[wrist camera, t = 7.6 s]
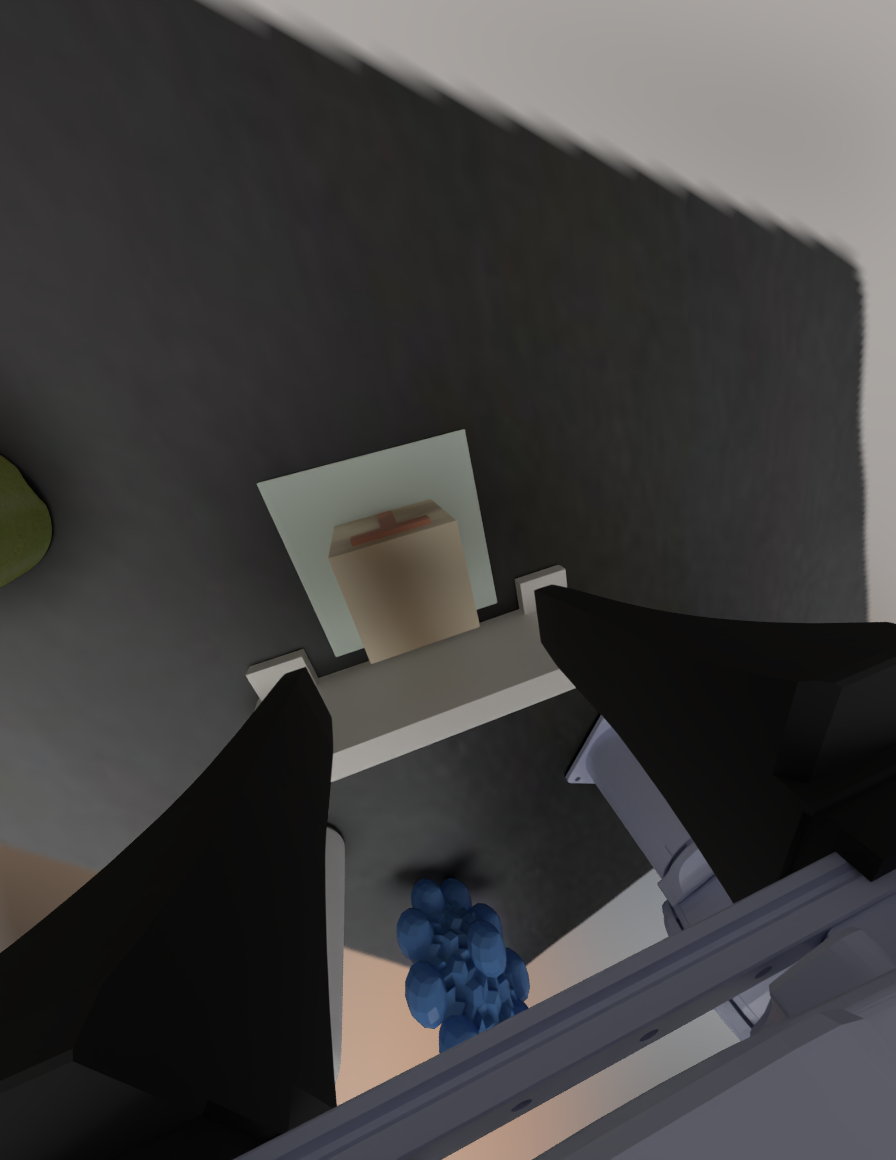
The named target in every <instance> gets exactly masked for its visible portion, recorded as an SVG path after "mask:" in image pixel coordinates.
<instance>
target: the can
mask: <svg viewBox="0 0 896 1160" xmlns="http://www.w3.org/2000/svg"><path fill="white" fill-rule="evenodd" d="M344 880H345V845H344V841H343V839H342V837H341V836H340V835H339V834H338V833H337V831H336V830H334V829H333V828H332V827H330V826H328V825H327V830H326V849H325V882H326V931H327V960H328V981H329V1002H330V1020H331V1034H332V1049H333V1064H334V1078H335V1083H336V1080H337V1076H338V1072H339V1068H340V1061H341V1040H342V996H343V992H342V991H343V942H344Z"/></svg>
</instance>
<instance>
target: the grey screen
mask: <svg viewBox="0 0 896 1160" xmlns="http://www.w3.org/2000/svg"><path fill="white" fill-rule="evenodd" d="M551 584H553V585H558V586H562V587H566V588H567V582H566V570H565V568H563V567H561V566H560V565H556V566H553V567H550V568H547V569H543V570H540V571H537V572H534V573H531V574H528V575H525V576H522V577H519V578H516V579H515V585H516V592H517V598H518V604H519V609H518V610H515V611H512V612H509V613H506V614H504V615H501V616H498V617H495V618H492V619H489V620H486V621H483V622H480V623H479V624H480V627H478V628H475V629H472V630H469V631H466V632H464V633H461V634H458V635H455V636H452V637H449V638H446V639H443V640H440V641H437V642H434V643H432V644H429V645H426V646H423V647H420V648H417V649H414V650H411V651H408V652H405V653H403V654H400V655H397V656H394V657H391V658H388V659H385V660H382V661H379V662H376V663H373V664H371V663H370V661H367V662H364V663H361V664H358V665H355V666H352V667H349V668H346V669H343V670H340V671H337V672H335V673H332V674H329V675H326V676H323V677H320V678H318V676H317V674H316V672H315V670H314V668H313V666H312V664H311V662H310V660H309V658H308V656H307V654H306V652H305V651H304V649H301V650H298V651H295V652H292V653H289V654H286V655H283V656H280V657H277V658H274V659H271V660H268V661H265V662H262V663H259V664H256V665H253V666H249V669H248V671H247V673H246V677H247V679H248V680H249V682H250V684H251V685H252V687H253V688H254V690H255V692H256V693H257V695H258V696H259V699H258V701H257V704H256V707H255V709H254V711H255V710H256V709H257V707H258V706H259V705H260V703H261V702H262V701H263V700H264V698H265V697H266V696H267V694H268V693H269V692H270V691H271V689H272V688H273V687H274V686H275V684H276V683H277V682H278V681H279V680H280V678H281V677H282V676H283V675H284V674H285V673H288V672H291V671H294V670H297V669H300V668H303V667H306V668H307V670H308V672H309V673H310V675H311V677H312V679H313V681H314V683H315V685H316V687H317V689H318V691H319V693H320V695H321V697H322V699H323V701H324V703H325V705H326V707H327V709H328V711H329V713H330V715H331V717H332V728H333V763H332V775H331V782H333V781H336V780H338V779H341V778H344V777H346V776H349V775H351V774H354V773H357V772H359V771H362V770H364V769H367V768H370V767H372V766H375V765H377V764H380V763H383V762H385V761H388V760H390V759H393V758H396V757H398V756H401V755H403V754H406V753H409V752H411V751H414V750H416V749H419V748H421V747H424V746H427V745H429V744H432V743H434V742H437V741H440V740H442V739H445V738H447V737H450V736H453V735H455V734H458V733H460V732H463V731H466V730H468V729H471V728H473V727H476V726H479V725H481V724H484V723H486V722H489V721H491V720H494V719H497V718H499V717H502V716H504V715H507V714H510V713H512V712H515V711H517V710H520V709H523V708H525V707H528V706H530V705H533V704H536V703H538V702H541V701H543V700H546V699H549V698H551V697H554V696H556V695H559V694H561V693H564V692H567V691H569V690H572V689H574V688H576V687H575V686H574V685H573V684H572V683H571V681H570V680H569V679H568V678H567V677H566V676H565V675H564V674H563V673H562V671H561V670H560V669H559V668H558V667H557V665H556V664H555V663H554V661H553V660H552V658H551V657H550V656H549V654H548V653H547V651H546V650H545V648H544V646H543V645H542V643H541V640H540V633H539V625H538V617H537V610H536V602H535V595H534V590H536V589H539V588H542V587H545V586H548V585H551Z"/></svg>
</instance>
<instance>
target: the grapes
mask: <svg viewBox="0 0 896 1160" xmlns="http://www.w3.org/2000/svg"><path fill="white" fill-rule="evenodd" d="M411 903H412V907H413V908H409V909H407V910H406V911H404V912H403V913H402V914H401V916H400V918H399V921H398V923H397V940H398V943H399V946H400V949H401V951H402V953H403V954H404V955H405V956H406V958H408V959H409V960H410V961H411V962H413V963H415V964H413V965H412V966H411V968H410V970H409V973H408V976H407V978H406V981H405V997H406V1000H407V1004H408V1007H409V1009H410V1012H411V1014H412V1016H413V1017H414V1018H415V1019H416V1020H417V1021H418V1022H419V1023H420V1024H421V1025H422V1026H423V1027H424V1028H431V1029H435V1028H436V1027H438V1026H439V1025H440V1024H441V1023H442V1024H441V1027H440V1031H439V1052H440V1053H442V1052H444V1051H446V1050H448V1049H450V1048H452V1047H454V1046H456V1045H458V1044H460V1043H462V1042H464V1041H466V1040H468V1039H470V1038H472V1037H474V1036H476V1035H478V1034H480V1033H482V1032H483V1031H485V1030H487V1029H489V1028H491V1027H493V1026H495V1025H497V1024H499V1023H501V1022H503V1021H505V1020H507V1019H509V1018H511V1017H513V1016H515V1015H517V1014H519V1013H521V1012H523V1011H525V1010H527V1009H528V1007H527V1005H526V1004H525V1003H524V1001H525V1000H526V999H527V998H528V993H529V988H530V985H529V976H528V972H527V970H526V966H525V964H524V962H523V960H522V959H521V958H520V956H519V955H518V954H517V953H516V952H514V951H513V950H511V949H510V948H505V945H504V942H503V931H502V925H501V922H500V919H499V916H498V915H497V913H496V912H495V911H494V910H493V909H492V908H491V907H489V906H488V905H486V904H482V903H477V904H475V905H474V906H473V907H472V904H471V897H470V894H469V891H468V889H467V887H466V886H465V885H464V884H463V883H462V882H461V881H459V880H457V879H456V878H447V879H446V880H444V881H443V882H442V884H441V886H440V887H439V885H438V884H437V883H436V882H434V881H432V880H431V879H424V878H422V879H421V880H419V881H418V882H416V883H415V885H414V888H413V890H412V892H411Z"/></svg>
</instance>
